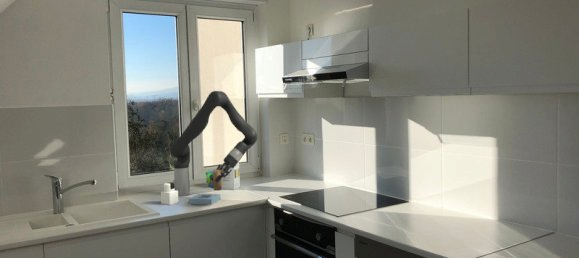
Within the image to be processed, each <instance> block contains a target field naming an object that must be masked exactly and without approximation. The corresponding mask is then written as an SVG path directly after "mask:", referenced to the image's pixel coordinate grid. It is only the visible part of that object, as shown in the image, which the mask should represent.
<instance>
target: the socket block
mask: <svg viewBox="0 0 579 258" xmlns="http://www.w3.org/2000/svg"><path fill="white" fill-rule="evenodd" d="M221 198H222V197H221V194H219V193H197V194H194V195H193V196H191V197H189V198H188V204H189V205H213V204H215V203H217V202H218V201H220V200H221Z"/></svg>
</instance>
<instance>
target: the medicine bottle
mask: <svg viewBox="0 0 579 258" xmlns="http://www.w3.org/2000/svg"><path fill="white" fill-rule="evenodd" d="M178 203H179V196H178V191H176V190H175V187H174V183H173V181H172V182H165V183H164V184H163V190H162V191H161V192H160V204H161V205H167V206H171V205H174V204H178Z"/></svg>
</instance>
